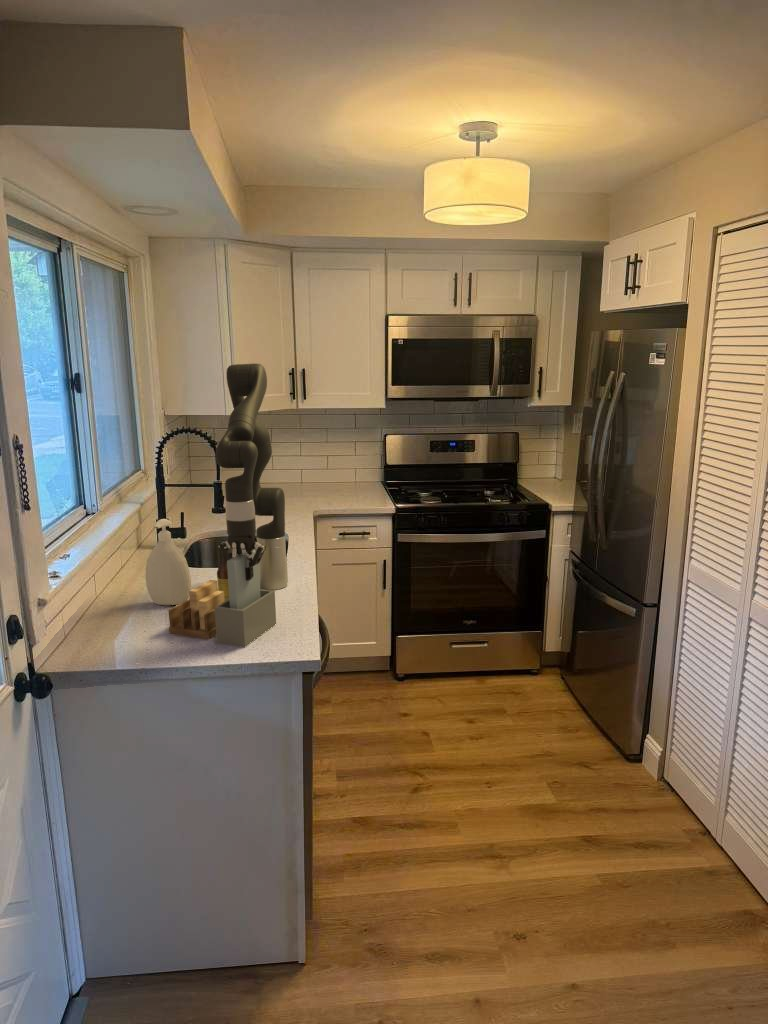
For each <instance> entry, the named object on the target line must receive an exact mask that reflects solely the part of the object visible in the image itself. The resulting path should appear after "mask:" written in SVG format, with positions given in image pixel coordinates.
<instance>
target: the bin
mask: <svg viewBox="0 0 768 1024" xmlns="http://www.w3.org/2000/svg"><path fill="white" fill-rule="evenodd" d="M260 595H261V598H260V599H258V600H256V601H255V602H253V603H252V604H250V605H248V606H247V607H245V608H244V609H242V610H241V609H233V608H230V603H229V599H228V600H226V601H224V602H223V603H221V604H219V605H218V606H216V607H214V609H215V623H216V636H215V637H216V643H217V644H219V645H220V644H221V645H227V646H233V647H234V646H235V647H240V646H241V647H242V648H246V647H248V646H249V645H250V644H251V643H250V642H252V641H253V640H254V639H256V638H257V637H259V636H260V635H261V634H263V633H264V632H265V631H267V630H268V629H269V630H271V629H272V628H274V627H275V626H276V625H277V610H276V609H277V608H276V591H275V590H266V589H262V588H260ZM275 624H276V625H275ZM274 625H275V626H274ZM273 626H274V627H273ZM271 627H272V628H271ZM270 628H271V629H270ZM269 630H268V631H269ZM268 631H267V632H268ZM265 633H266V632H265ZM265 633H264V634H265ZM264 634H263V635H264ZM261 636H262V635H261ZM261 636H260V637H261ZM260 637H259V638H260ZM257 639H258V638H257ZM257 639H256V640H257ZM254 641H255V640H254ZM254 641H253V642H254ZM253 642H252V643H253ZM249 643H250V644H249ZM248 644H249V645H248ZM247 645H248V646H247ZM245 646H246V647H245Z"/></svg>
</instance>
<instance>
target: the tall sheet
mask: <svg viewBox="0 0 768 1024" xmlns="http://www.w3.org/2000/svg"><path fill="white" fill-rule="evenodd" d="M255 553H256V551H255V549H253V554H254V555H255ZM247 555H248V554H247ZM253 557H254V556H253ZM245 568H246V566H245V560H244V559H243V555H242V554H241V555H239V556H237V557H234V558H232V559H230V560H228V561H227V569H228V586H229V603H230V608H233V609H241V610H242V609H244V608H245V607H247V606H248V605H250V604H252V603H253V602H255V601H256V600H258V599H260V598H261V595H260V589H261V588H260V575H259V563H258V564H256V565H255V566H253V574H254V576H253V578H252V579H251V580H249V581H246V573H245Z"/></svg>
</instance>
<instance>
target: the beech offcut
mask: <svg viewBox="0 0 768 1024" xmlns="http://www.w3.org/2000/svg"><path fill="white" fill-rule="evenodd" d="M224 601H225V599H224V591H216V592H214V593H212V594H210V595H208V596H207V597H205V598H203V599H201V600H199V601H198V605H199V619H200V629H204V630H205V623H204V614H206V613H207V612H209V611H211V610H213V609H214V607H216V606H218V605H219V604H221V603H223V602H224Z"/></svg>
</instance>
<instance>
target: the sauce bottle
mask: <svg viewBox="0 0 768 1024" xmlns="http://www.w3.org/2000/svg"><path fill="white" fill-rule="evenodd" d="M230 548H231V547H230ZM231 550H232V548H231ZM217 551H218V553H219V562H218V567H217V571H216V579H217V580H216V581H217V587H218V591H224V599H225V601H226V600H228V599H229V586H228V569H227V560H226V558H225V556H224V554H223V552H222V551H221V549H220V547H219V545H218V546H217ZM232 551H233V550H232Z"/></svg>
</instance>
